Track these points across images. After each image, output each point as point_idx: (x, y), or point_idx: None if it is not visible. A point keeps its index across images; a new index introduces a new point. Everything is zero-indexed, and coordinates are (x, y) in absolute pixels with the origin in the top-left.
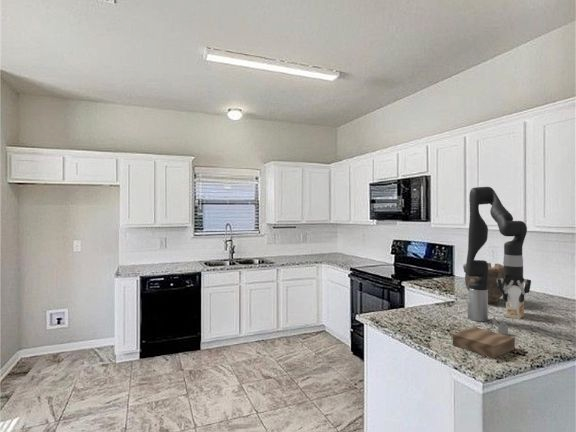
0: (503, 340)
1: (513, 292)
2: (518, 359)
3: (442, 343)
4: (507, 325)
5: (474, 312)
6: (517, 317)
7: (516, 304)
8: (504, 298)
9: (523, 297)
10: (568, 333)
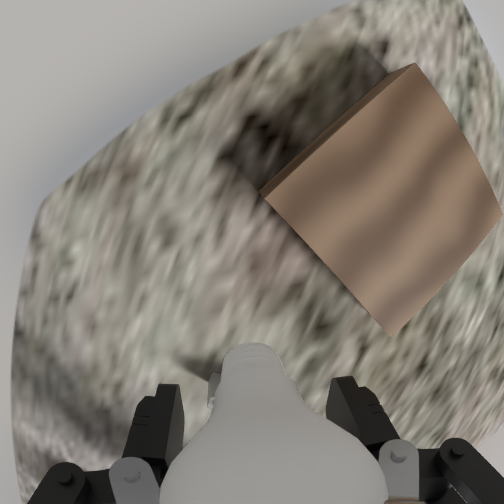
0: (346, 140)
1: (329, 448)
2: (296, 65)
3: None
4: (210, 403)
5: None
6: None
7: (232, 366)
8: (373, 402)
9: (139, 429)
10: (16, 389)
